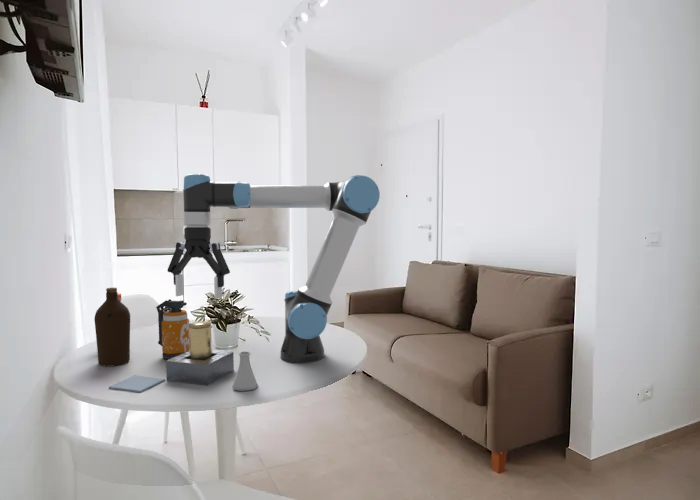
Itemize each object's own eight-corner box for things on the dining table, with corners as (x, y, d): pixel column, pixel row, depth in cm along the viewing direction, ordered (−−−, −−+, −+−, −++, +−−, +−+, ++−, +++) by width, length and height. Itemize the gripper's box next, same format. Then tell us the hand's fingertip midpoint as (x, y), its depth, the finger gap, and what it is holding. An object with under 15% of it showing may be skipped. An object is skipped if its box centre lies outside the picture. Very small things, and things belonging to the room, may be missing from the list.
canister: (180, 361, 154) (179, 302, 153) (151, 359, 157) (149, 301, 155) (195, 353, 163) (193, 298, 162) (167, 352, 165) (165, 297, 164)
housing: (233, 370, 145) (233, 351, 145) (207, 385, 132) (207, 364, 131) (195, 366, 149) (195, 348, 149) (166, 380, 136) (166, 360, 135)
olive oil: (137, 361, 154) (134, 287, 153) (103, 369, 146) (100, 291, 145) (123, 355, 161) (121, 285, 160) (91, 362, 153) (88, 288, 152)
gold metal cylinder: (216, 373, 142) (215, 322, 141) (204, 379, 136) (202, 326, 135) (198, 371, 144) (197, 320, 143) (185, 377, 138) (184, 325, 137)
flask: (260, 382, 134) (259, 348, 133) (255, 391, 127) (255, 356, 126) (235, 383, 134) (234, 349, 133) (229, 392, 127) (228, 356, 126)
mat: (165, 380, 136) (165, 378, 136) (140, 392, 126) (140, 390, 126) (134, 376, 139) (134, 375, 139) (108, 388, 130) (108, 386, 130)
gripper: (240, 226, 137) (241, 296, 139) (170, 226, 145) (172, 292, 146) (227, 226, 130) (228, 301, 132) (154, 226, 138) (155, 296, 139)
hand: (198, 296), depth 139 cm, fingers open, 13 cm apart
